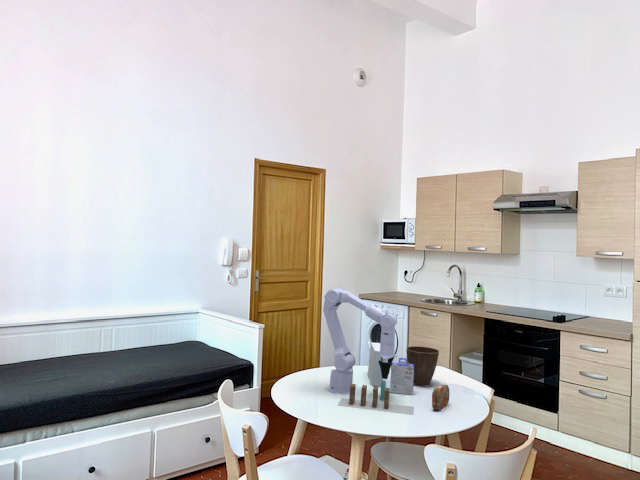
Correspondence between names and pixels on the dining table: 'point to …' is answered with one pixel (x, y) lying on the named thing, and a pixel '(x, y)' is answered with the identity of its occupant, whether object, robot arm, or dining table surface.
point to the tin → (440, 397)
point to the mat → (378, 406)
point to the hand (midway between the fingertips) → (385, 376)
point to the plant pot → (422, 363)
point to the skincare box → (374, 365)
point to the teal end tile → (382, 390)
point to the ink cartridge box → (402, 377)
